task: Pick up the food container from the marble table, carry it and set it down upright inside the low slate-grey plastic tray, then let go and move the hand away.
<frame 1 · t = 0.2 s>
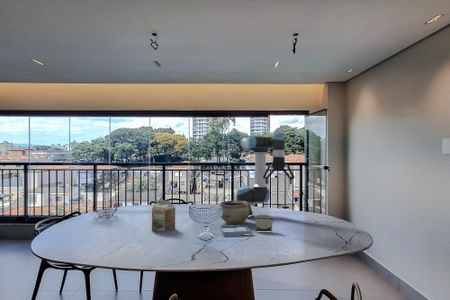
hand: (278, 189, 189), 27 cm above the table, tool pointing down, fingers open, 13 cm apart
ceramic bowl: (234, 223, 210), on the table
tray: (234, 232, 185), on the table
milk carton: (163, 230, 190), on the table
food container: (263, 231, 188), on the table
geometric lantern: (106, 216, 230), on the table
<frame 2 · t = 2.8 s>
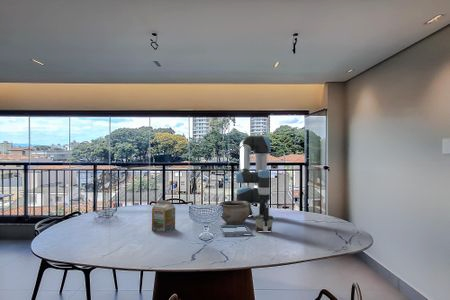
hand: (263, 229, 188), 1 cm above the table, tool pointing down, fingers closed on food container, 7 cm apart
food container: (263, 231, 188), on the table, touching gripper
everything else where it was.
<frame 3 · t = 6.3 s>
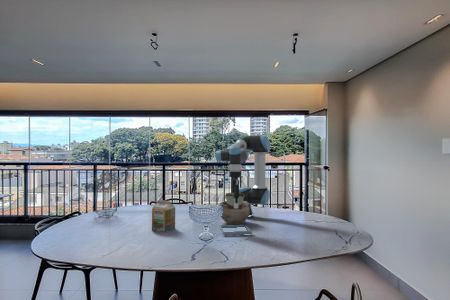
hand: (235, 207, 186), 16 cm above the table, tool pointing down, fingers closed on food container, 7 cm apart
food container: (235, 209, 186), point 14 cm above the table, touching gripper
everything else where it was.
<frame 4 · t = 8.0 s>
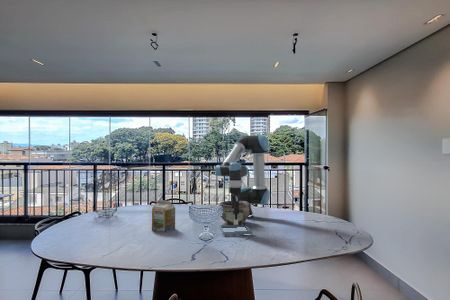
hand: (234, 223, 185), 6 cm above the table, tool pointing down, fingers closed on food container, 7 cm apart
food container: (234, 225, 185), point 4 cm above the table, touching gripper
everything else where it was.
when the fingers open (2 cm above the table, at t = 9.5 s): food container stays where it is, resting on tray.
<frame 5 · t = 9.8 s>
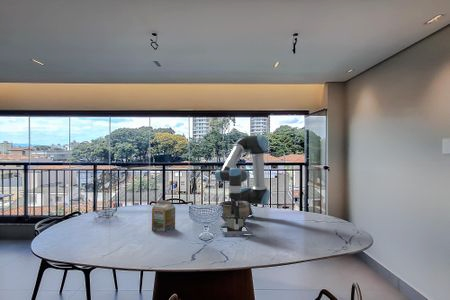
hand: (234, 227, 185), 3 cm above the table, tool pointing down, fingers open, 10 cm apart
food container: (234, 231, 186), resting on tray
everything else where it was.
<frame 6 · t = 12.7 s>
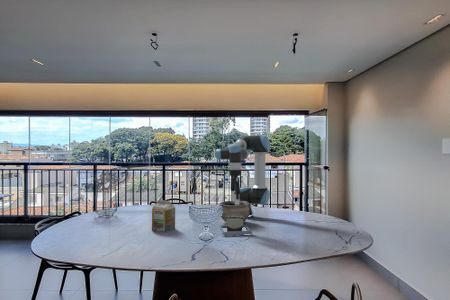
hand: (235, 202, 186), 19 cm above the table, tool pointing down, fingers open, 13 cm apart
nothing on the table moved.
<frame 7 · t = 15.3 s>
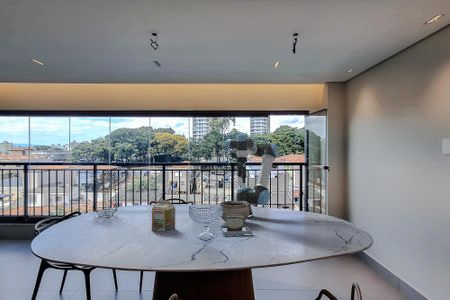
hand: (241, 186, 205), 27 cm above the table, tool pointing down, fingers open, 13 cm apart
nothing on the table moved.
at the end: food container inside the target area on the tray (0.4 cm from its centre), point 0.4 cm above the tray's base; food container tilted 0°; the gripper is holding nothing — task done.
